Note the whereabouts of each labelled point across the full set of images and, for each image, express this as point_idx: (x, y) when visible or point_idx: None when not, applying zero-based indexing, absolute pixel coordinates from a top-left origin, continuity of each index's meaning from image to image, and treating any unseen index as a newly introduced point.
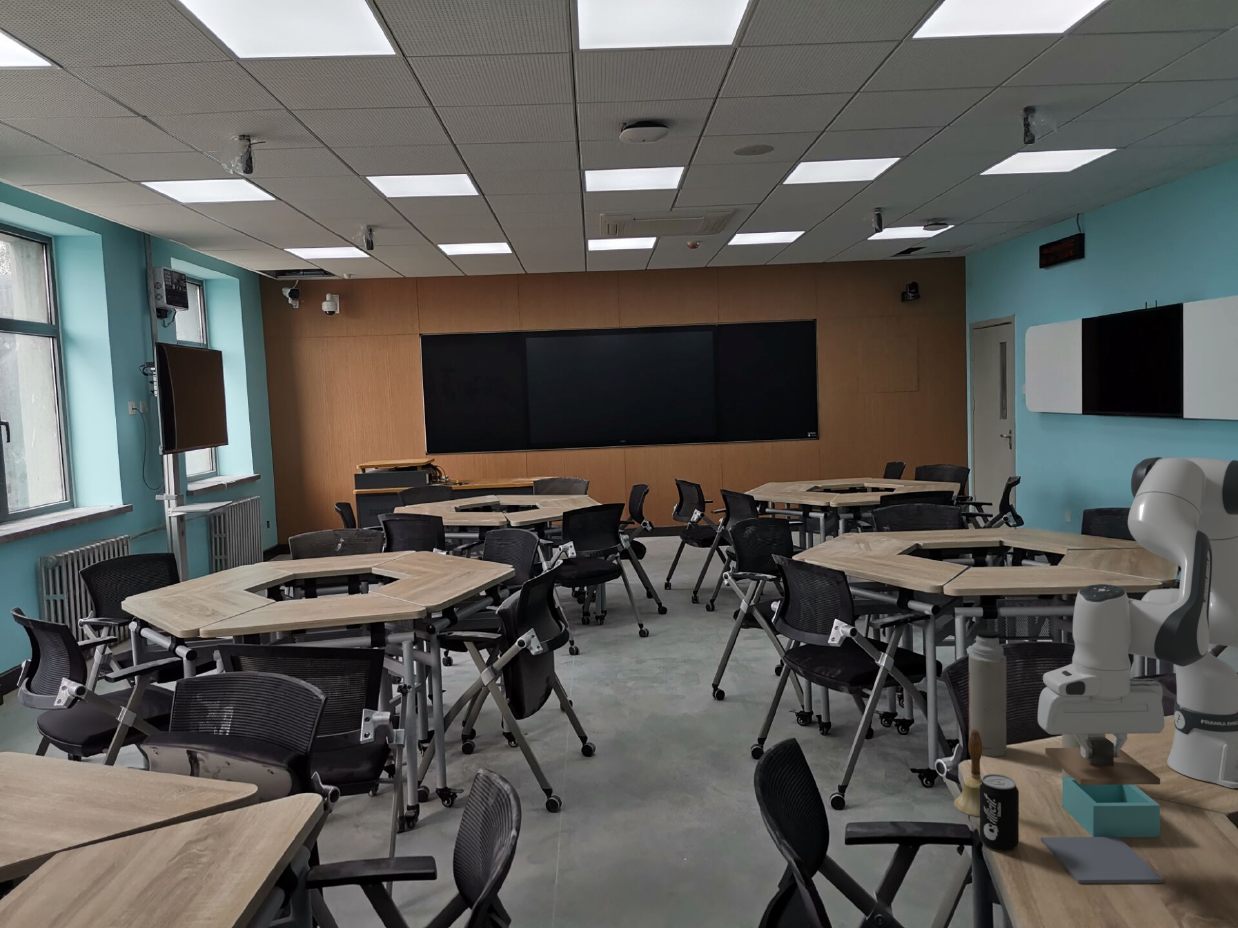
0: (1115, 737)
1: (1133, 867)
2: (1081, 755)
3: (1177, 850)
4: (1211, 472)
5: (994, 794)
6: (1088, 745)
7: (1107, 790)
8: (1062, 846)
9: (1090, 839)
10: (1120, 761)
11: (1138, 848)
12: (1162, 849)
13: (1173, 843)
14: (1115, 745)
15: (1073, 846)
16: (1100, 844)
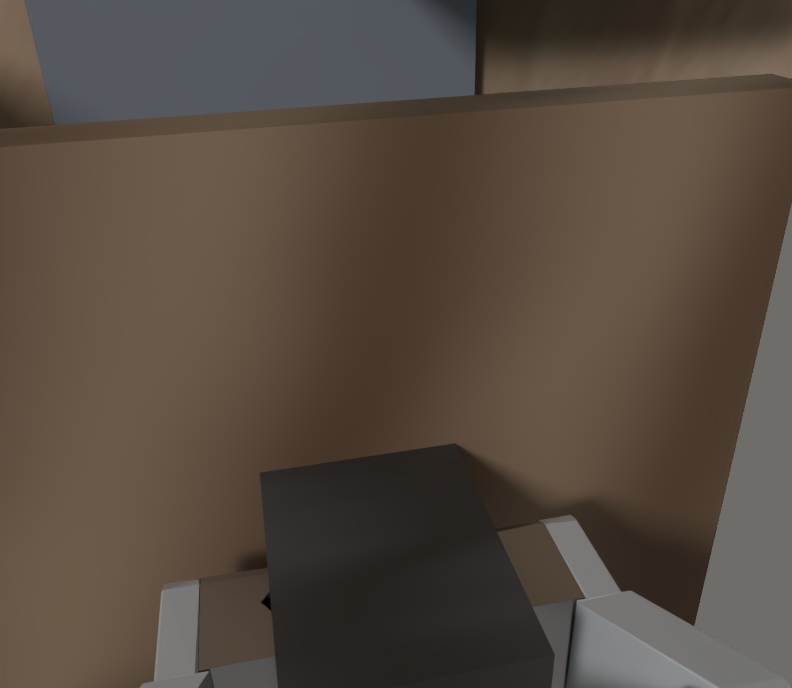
0: (678, 674)
1: None
2: (232, 382)
3: (683, 76)
4: None
5: None
6: (263, 671)
7: None
8: (128, 100)
9: (313, 10)
10: (580, 475)
11: (522, 64)
12: (625, 69)
13: (712, 5)
14: (587, 675)
15: (190, 96)
16: (343, 69)
